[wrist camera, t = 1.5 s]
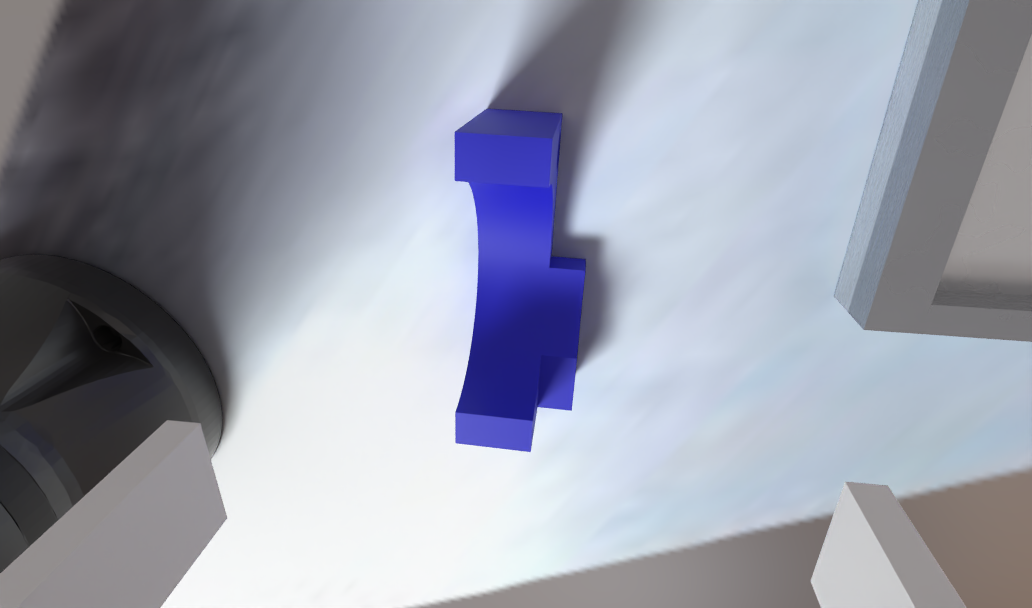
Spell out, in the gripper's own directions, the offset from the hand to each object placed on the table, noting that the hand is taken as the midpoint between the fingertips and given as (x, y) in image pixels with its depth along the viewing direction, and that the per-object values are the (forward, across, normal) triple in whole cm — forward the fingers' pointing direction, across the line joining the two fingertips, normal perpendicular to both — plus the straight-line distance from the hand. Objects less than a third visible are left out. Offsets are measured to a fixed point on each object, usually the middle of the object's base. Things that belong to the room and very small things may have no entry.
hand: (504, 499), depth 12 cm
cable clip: (+15, -1, 0) cm, 15 cm away
